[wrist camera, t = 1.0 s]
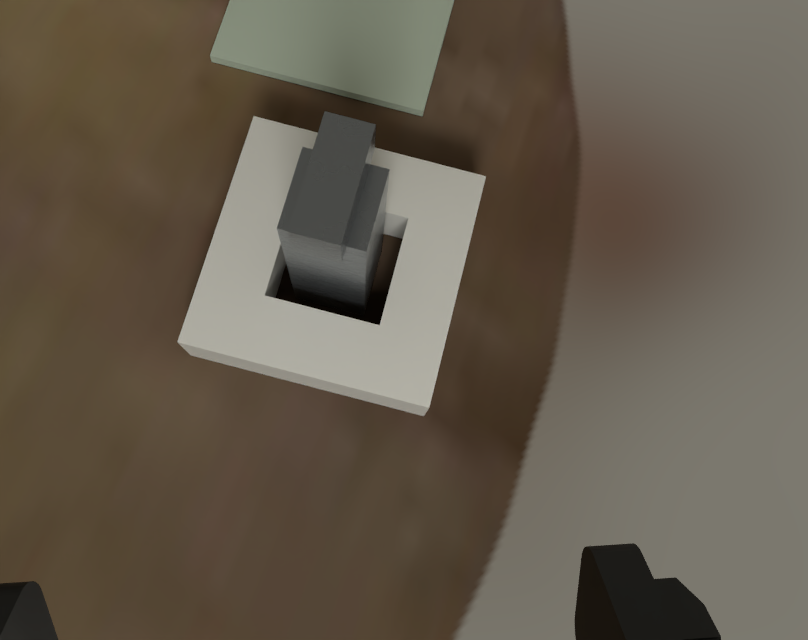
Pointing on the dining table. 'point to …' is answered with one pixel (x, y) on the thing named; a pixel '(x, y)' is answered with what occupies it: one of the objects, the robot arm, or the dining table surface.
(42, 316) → the dining table surface
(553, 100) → the dining table surface
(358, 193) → the t-key
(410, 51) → the sage mat
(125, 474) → the dining table surface
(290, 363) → the key socket
